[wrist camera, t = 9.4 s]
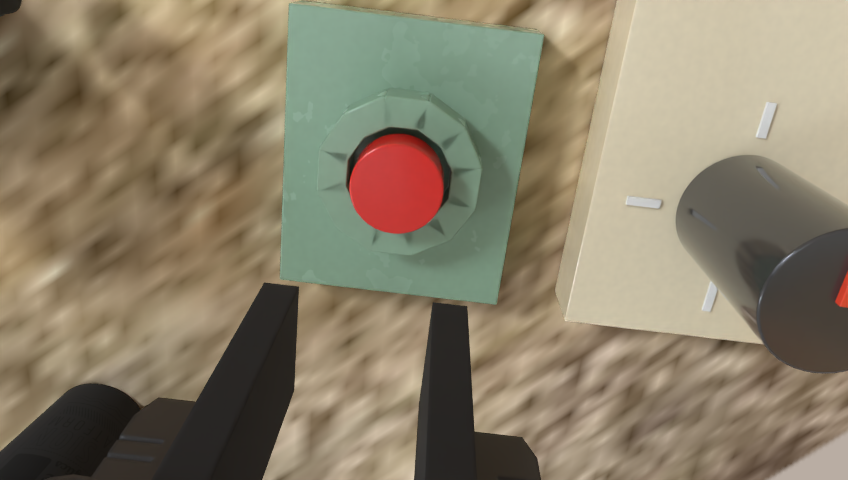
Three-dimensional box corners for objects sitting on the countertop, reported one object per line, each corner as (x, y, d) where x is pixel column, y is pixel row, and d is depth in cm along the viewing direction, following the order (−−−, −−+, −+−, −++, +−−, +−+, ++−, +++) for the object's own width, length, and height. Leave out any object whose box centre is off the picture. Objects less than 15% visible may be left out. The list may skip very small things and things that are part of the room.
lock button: (438, 223, 28) (437, 239, 26) (351, 213, 27) (345, 228, 26) (449, 138, 26) (449, 150, 24) (358, 127, 26) (352, 138, 24)
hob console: (795, 319, 33) (830, 354, 30) (554, 291, 33) (564, 323, 30) (928, -30, 27) (987, -29, 24) (630, -67, 26) (653, -70, 23)
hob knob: (776, 274, 28) (896, 389, 21) (661, 259, 28) (739, 369, 21) (816, 162, 27) (966, 243, 19) (693, 146, 26) (794, 221, 19)
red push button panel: (493, 283, 32) (499, 325, 29) (290, 260, 32) (269, 298, 29) (537, 29, 28) (551, 39, 24) (300, 0, 28) (277, 5, 24)
